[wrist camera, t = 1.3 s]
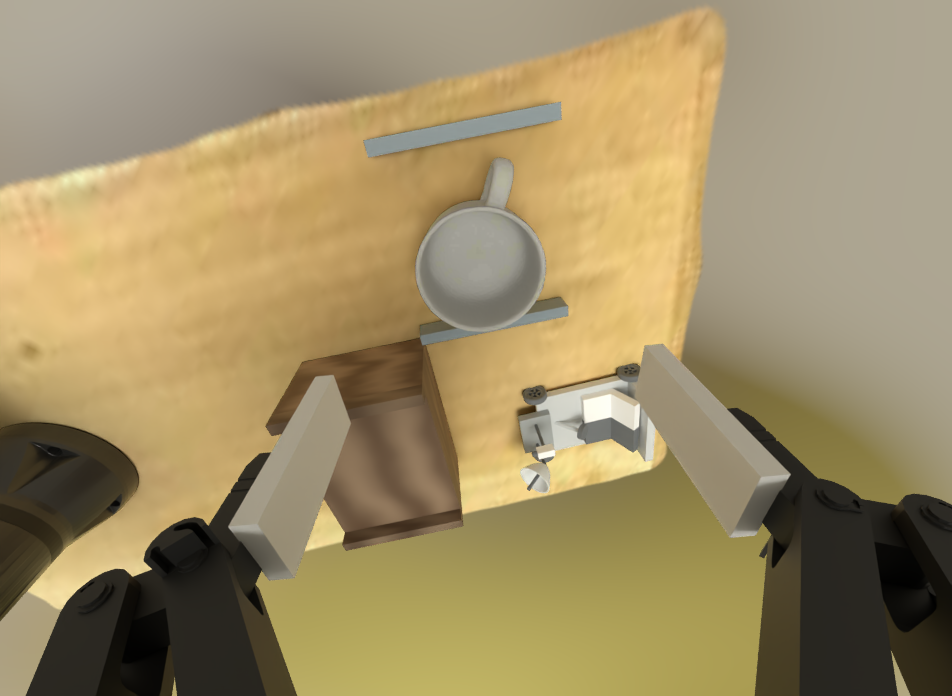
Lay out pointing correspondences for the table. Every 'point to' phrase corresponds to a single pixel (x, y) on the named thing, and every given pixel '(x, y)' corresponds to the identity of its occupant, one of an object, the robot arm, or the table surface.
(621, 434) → the toy rover
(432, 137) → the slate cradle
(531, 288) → the teacup
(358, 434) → the walnut stand
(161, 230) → the table surface
